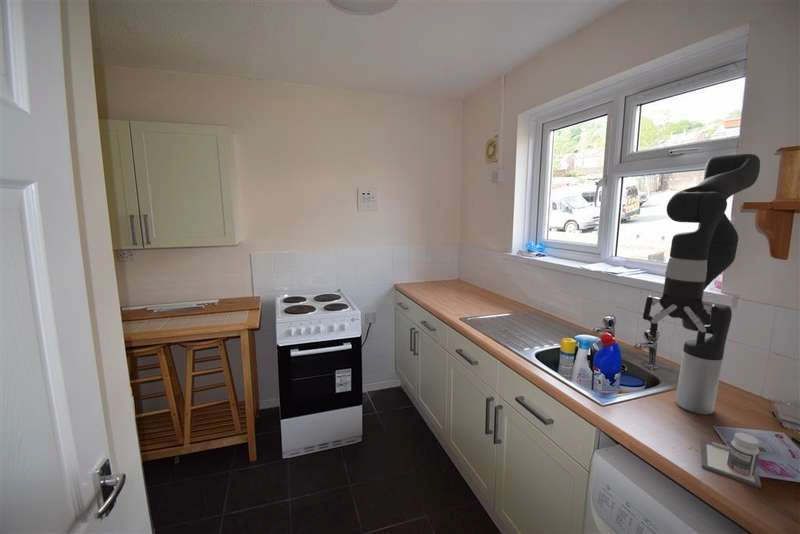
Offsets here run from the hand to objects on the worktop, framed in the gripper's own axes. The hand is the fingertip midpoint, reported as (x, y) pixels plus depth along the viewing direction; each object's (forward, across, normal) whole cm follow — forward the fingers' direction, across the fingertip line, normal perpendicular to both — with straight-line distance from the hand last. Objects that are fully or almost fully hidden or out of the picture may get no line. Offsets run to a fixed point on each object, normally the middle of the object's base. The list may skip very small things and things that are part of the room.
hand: (675, 341), depth 88 cm
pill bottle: (+28, -15, +1) cm, 32 cm away
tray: (+28, -14, -2) cm, 31 cm away
